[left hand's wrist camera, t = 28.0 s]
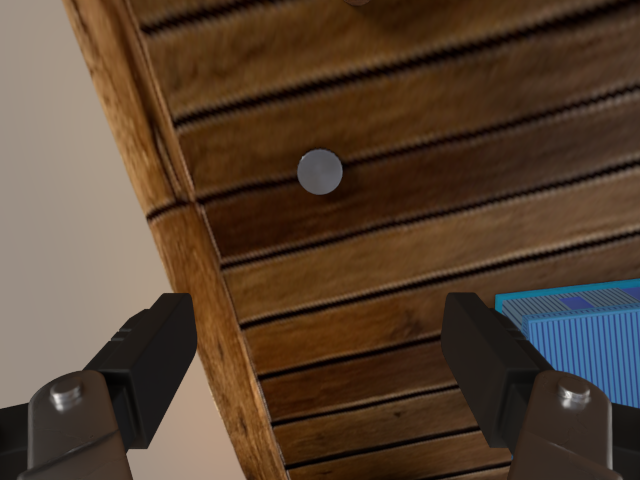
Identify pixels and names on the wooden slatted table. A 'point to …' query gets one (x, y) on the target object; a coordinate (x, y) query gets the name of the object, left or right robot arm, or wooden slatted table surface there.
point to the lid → (319, 171)
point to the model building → (585, 332)
